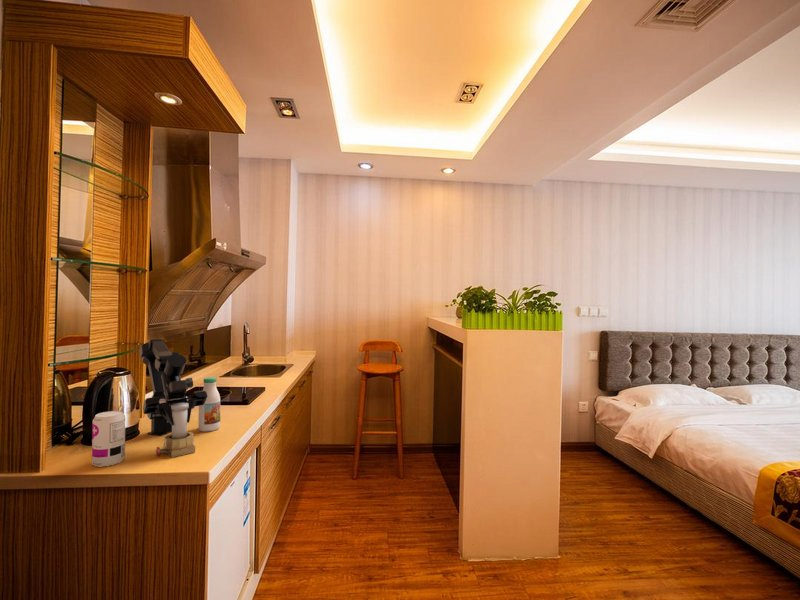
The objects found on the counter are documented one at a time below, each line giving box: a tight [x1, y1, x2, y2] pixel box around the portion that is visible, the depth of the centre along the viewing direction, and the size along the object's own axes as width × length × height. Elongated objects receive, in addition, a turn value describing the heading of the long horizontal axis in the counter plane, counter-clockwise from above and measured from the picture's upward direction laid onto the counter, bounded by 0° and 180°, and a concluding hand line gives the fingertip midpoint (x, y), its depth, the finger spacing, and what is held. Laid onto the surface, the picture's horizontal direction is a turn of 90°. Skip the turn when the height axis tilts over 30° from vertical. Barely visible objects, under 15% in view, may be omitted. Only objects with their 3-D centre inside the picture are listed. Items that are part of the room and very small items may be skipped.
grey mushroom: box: [171, 403, 189, 439], centre depth 133 cm, size 5×5×12 cm
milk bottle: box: [197, 376, 221, 433], centre depth 156 cm, size 8×8×20 cm
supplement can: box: [91, 410, 126, 467], centre depth 123 cm, size 8×8×15 cm
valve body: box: [155, 431, 196, 459], centre depth 133 cm, size 14×11×5 cm
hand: (180, 423), depth 132 cm, fingers closed on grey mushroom, 4 cm apart
